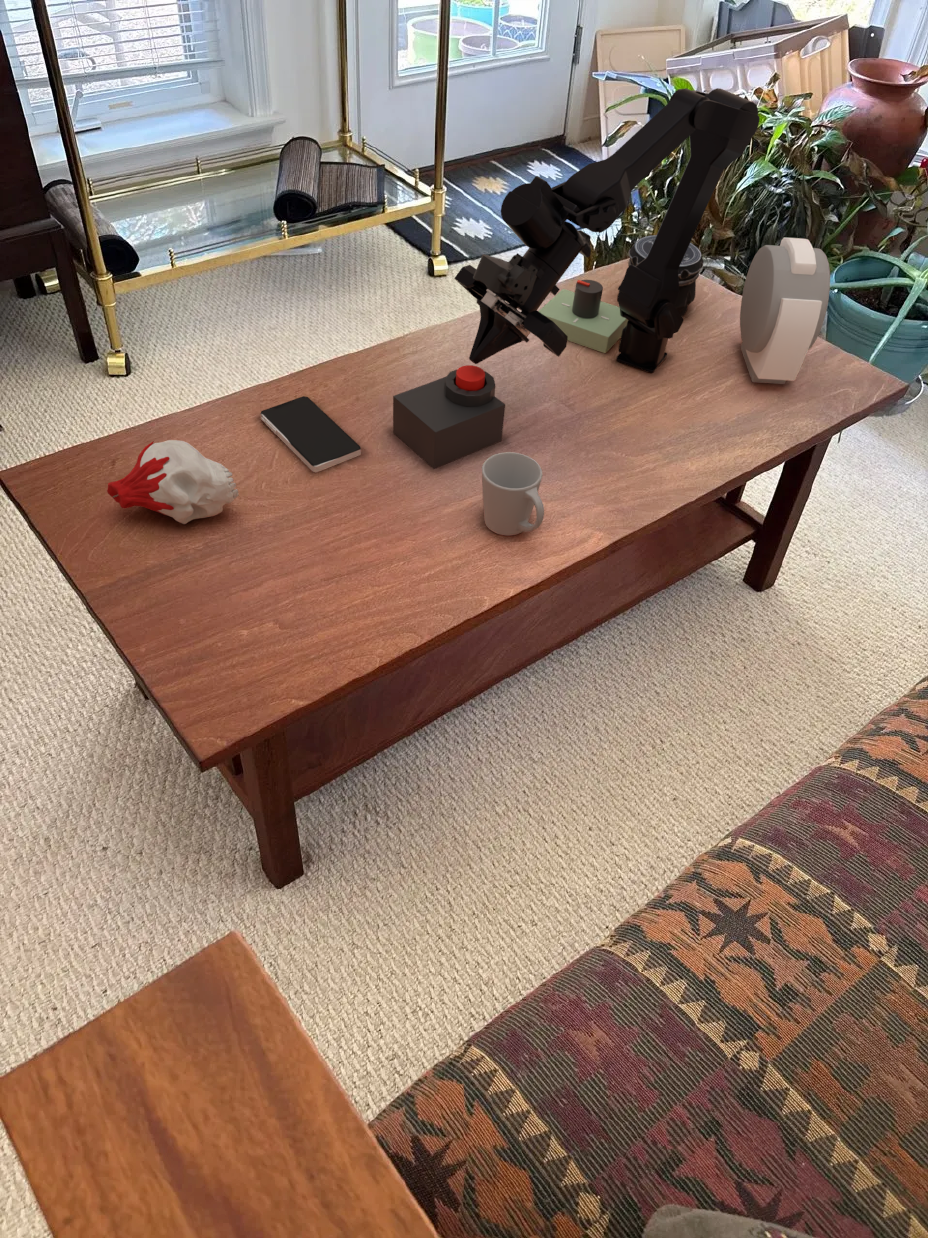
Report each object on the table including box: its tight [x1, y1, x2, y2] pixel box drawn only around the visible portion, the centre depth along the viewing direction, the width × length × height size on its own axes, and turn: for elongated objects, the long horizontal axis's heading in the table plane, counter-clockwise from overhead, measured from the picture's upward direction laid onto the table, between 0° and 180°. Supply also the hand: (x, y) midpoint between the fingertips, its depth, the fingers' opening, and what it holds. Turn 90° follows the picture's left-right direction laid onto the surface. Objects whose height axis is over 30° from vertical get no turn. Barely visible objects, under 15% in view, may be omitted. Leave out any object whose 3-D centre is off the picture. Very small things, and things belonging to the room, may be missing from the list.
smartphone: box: [259, 395, 362, 473], centre depth 133 cm, size 8×1×15 cm
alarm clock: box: [739, 237, 831, 385], centre depth 147 cm, size 18×8×20 cm, turn 179°
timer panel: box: [538, 288, 629, 354], centre depth 157 cm, size 13×10×3 cm
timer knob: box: [572, 279, 604, 318], centre depth 155 cm, size 4×4×5 cm
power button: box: [456, 364, 485, 391], centre depth 131 cm, size 4×4×2 cm
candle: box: [106, 439, 240, 525], centre depth 119 cm, size 9×11×15 cm
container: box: [627, 234, 704, 317], centre depth 162 cm, size 13×13×10 cm
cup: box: [481, 451, 545, 537], centre depth 120 cm, size 8×10×8 cm
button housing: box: [392, 368, 506, 470], centre depth 133 cm, size 13×10×8 cm
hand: (472, 361), depth 129 cm, fingers closed
